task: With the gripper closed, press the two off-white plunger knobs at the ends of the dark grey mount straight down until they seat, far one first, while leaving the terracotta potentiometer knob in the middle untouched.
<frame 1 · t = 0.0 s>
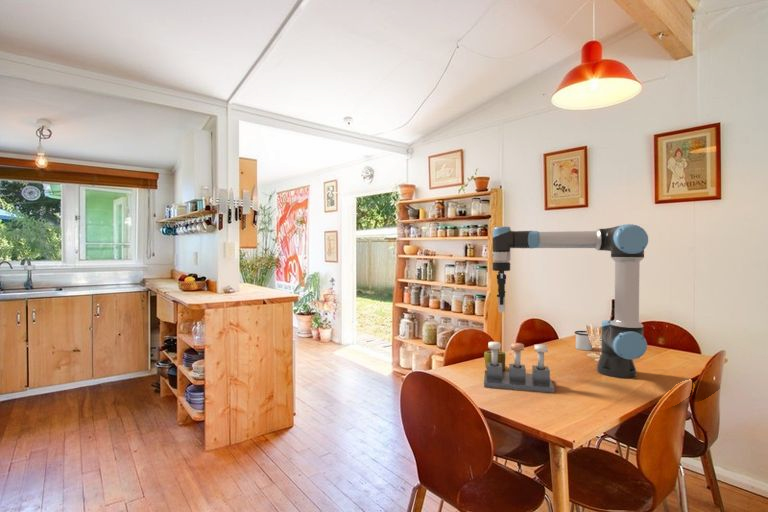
hand: (501, 309, 178), 28 cm above the table, fingers open, 13 cm apart
pot knob: (517, 356, 165), point 11 cm above the table, slide at 0.0 cm
knob near: (540, 358, 163), point 11 cm above the table, slide at 0.0 cm
mount: (517, 383, 165), on the table
mug: (494, 368, 186), on the table
mug 2: (585, 348, 222), on the table
knob far: (494, 355, 167), point 11 cm above the table, slide at 0.0 cm
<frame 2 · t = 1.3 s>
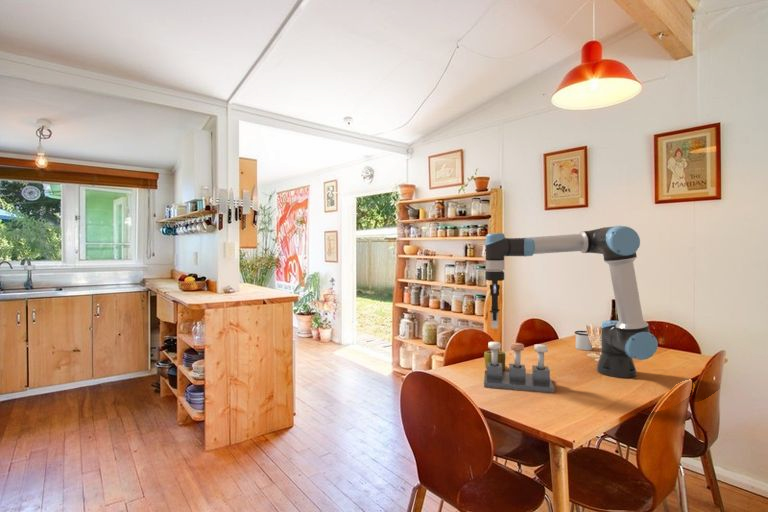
hand: (494, 327, 167), 22 cm above the table, fingers open, 2 cm apart
nothing on the table moved.
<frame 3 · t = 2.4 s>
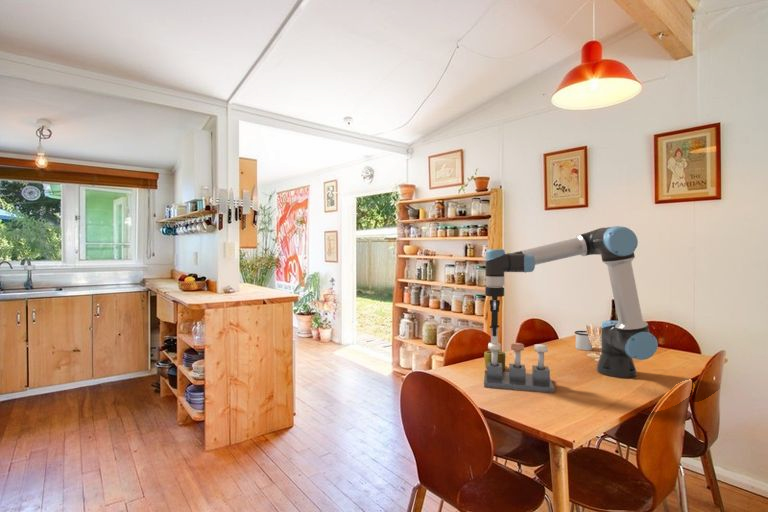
hand: (494, 343, 167), 16 cm above the table, fingers closed
knob far: (494, 355, 167), point 11 cm above the table, slide at 0.4 cm, touching gripper
everything else where it was.
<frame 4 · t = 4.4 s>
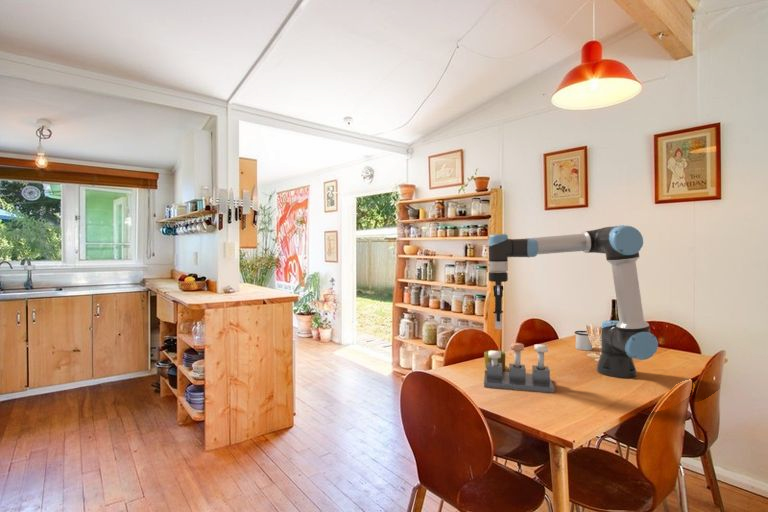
hand: (498, 328, 167), 22 cm above the table, fingers closed
knob far: (494, 364, 167), point 7 cm above the table, slide at 3.8 cm
everything else where it was.
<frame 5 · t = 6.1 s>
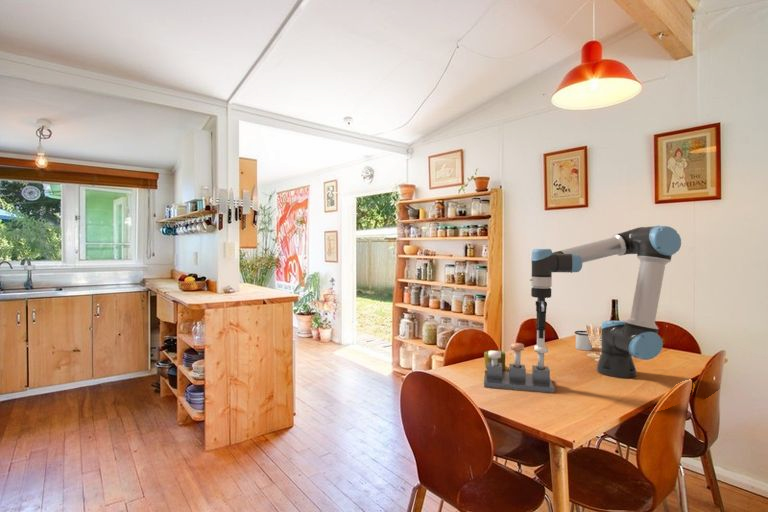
hand: (540, 345, 163), 16 cm above the table, fingers closed
knob near: (540, 358, 163), point 11 cm above the table, slide at 0.3 cm, touching gripper
everything else where it was.
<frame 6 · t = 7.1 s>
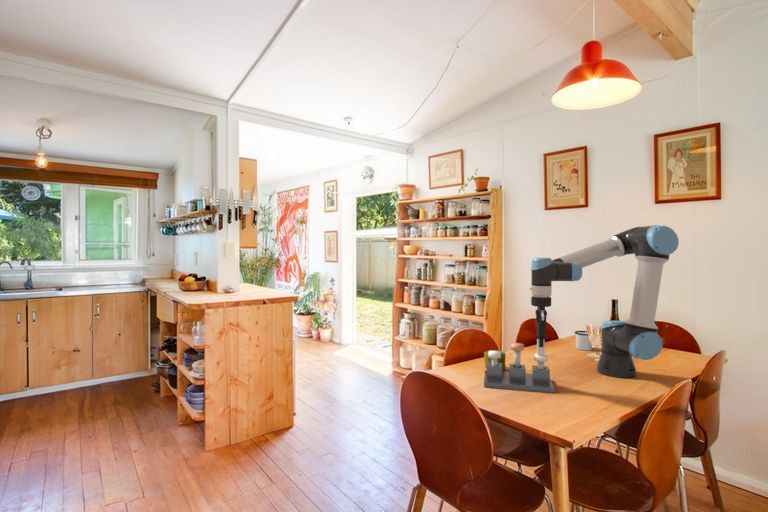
hand: (540, 354, 163), 12 cm above the table, fingers closed
knob near: (540, 367, 163), point 7 cm above the table, slide at 3.8 cm, touching gripper
everything else where it was.
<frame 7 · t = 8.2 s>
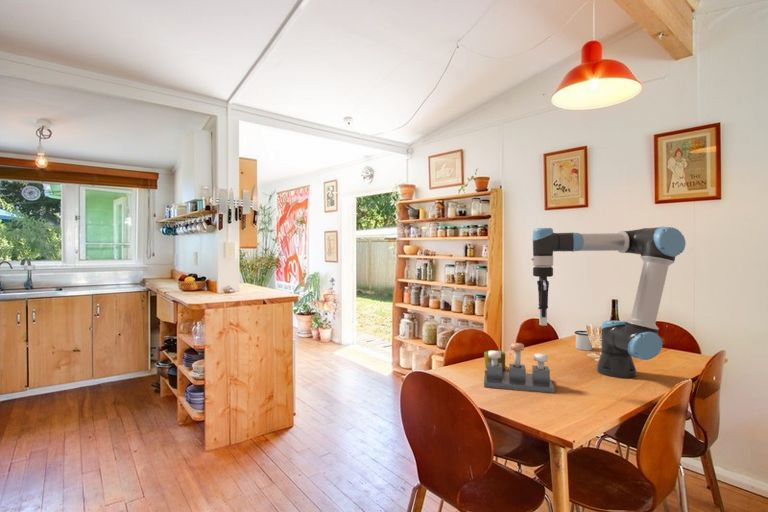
hand: (543, 324, 163), 24 cm above the table, fingers closed
knob near: (540, 367, 163), point 7 cm above the table, slide at 3.8 cm
everything else where it was.
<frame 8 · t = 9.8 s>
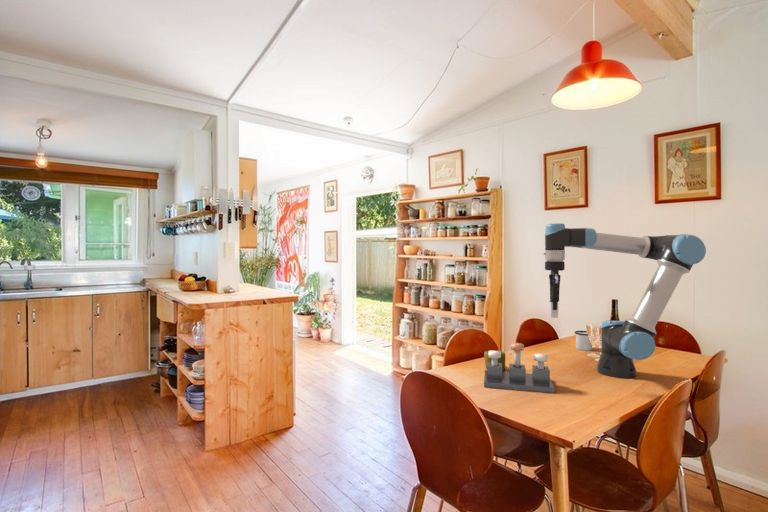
hand: (554, 317, 168), 26 cm above the table, fingers closed
nothing on the table moved.
at the end: knob far slide at 3.8 cm; knob near slide at 3.8 cm; pot knob slide at 0.0 cm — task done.
